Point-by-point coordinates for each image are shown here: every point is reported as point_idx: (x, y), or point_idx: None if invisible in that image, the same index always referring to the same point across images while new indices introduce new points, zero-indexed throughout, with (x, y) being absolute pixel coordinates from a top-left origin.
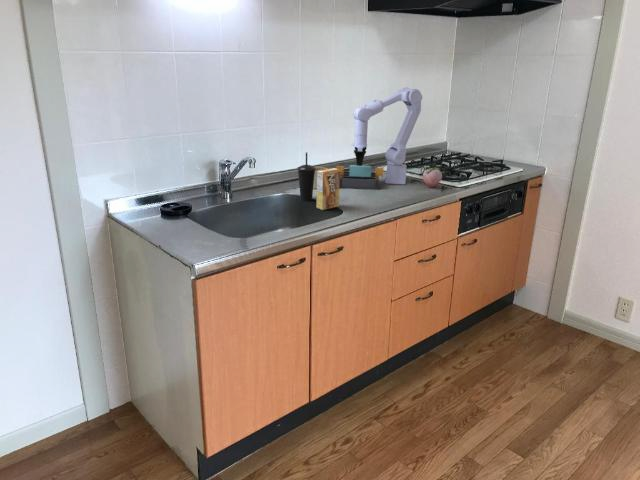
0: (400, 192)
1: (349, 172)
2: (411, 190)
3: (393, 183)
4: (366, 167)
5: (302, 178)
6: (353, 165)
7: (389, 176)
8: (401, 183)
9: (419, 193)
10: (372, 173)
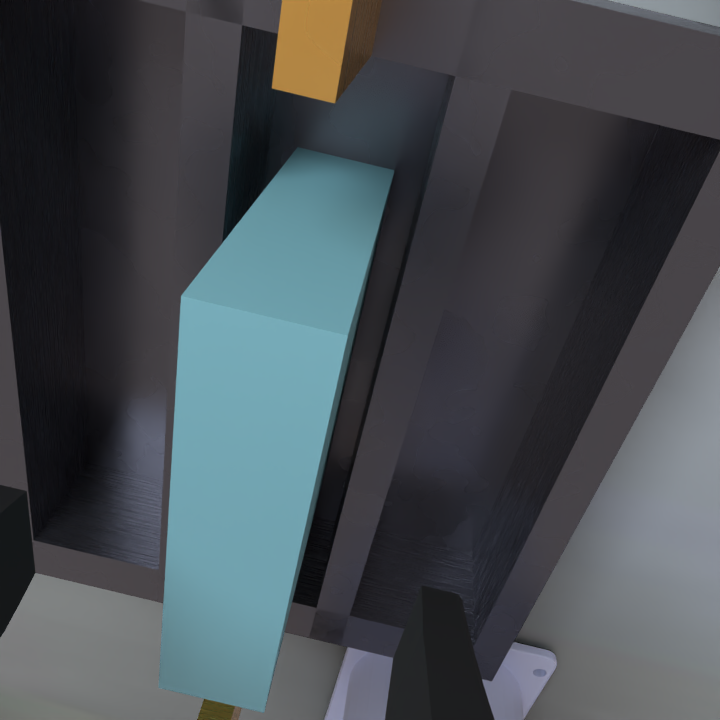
0: (19, 614)
1: (239, 222)
2: (112, 699)
3: (342, 663)
4: (168, 615)
5: None
6: (290, 420)
7: (371, 715)
8: (326, 714)
9: (25, 711)
10: (486, 607)
